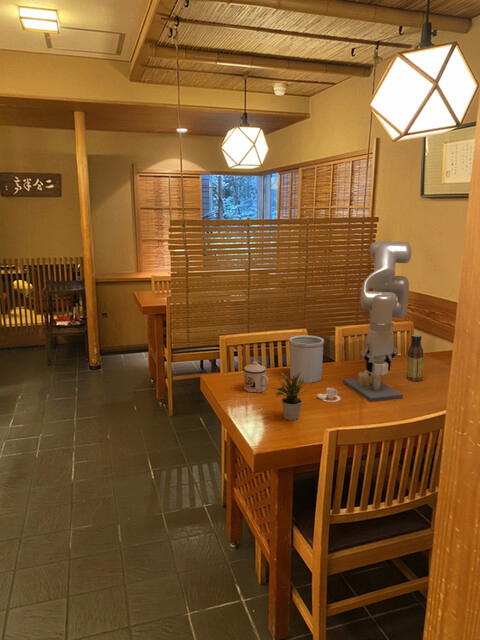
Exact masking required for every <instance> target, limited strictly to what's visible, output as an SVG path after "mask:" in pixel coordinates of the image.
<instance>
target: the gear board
mask: <svg viewBox="0 0 480 640" xmlns="http://www.w3.org/2000/svg"><path fill="white" fill-rule="evenodd" d="M381 380H382V379H381V375H375V374H372V373H369V371H367V370H366V369H365V370H364V371H363V372H362V371H359V373H357V377H354V378H345V379H343V378H342V383H343V384H344V385H345V386H347V387H348V388H349V389H351V390H353V391H354V392H355V393H357V394H359V395H360V396H361V397H362V398H364V399H365V400H367V401H368V402H370V403H372V402H382V401H390V400H399V399H400V400H402V399H403V396H404V395H403V393H401V392H399V391H397V390H396V389H395V388H392V387H391V386H389V385H387V384H385V383H384V382H382V381H381Z"/></svg>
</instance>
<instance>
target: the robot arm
mask: <svg viewBox="0 0 480 640" xmlns="http://www.w3.org/2000/svg"><path fill="white" fill-rule="evenodd" d="M369 254H370V257H371V260H372V263H373V272H372V273H369V275H368V276H366V278H365V279H364V281H363V282H362V285H361V287H360V288H361V291H360V301H359V302H360V307H361V308H362V309H363V310H367V311H369V329H368V332H367V334H366V338H365V339H366V340H365V346H364V348H363V349H362V350H361V351H360V352H359V354H360V355H361V357H362V358H363V359H364V360H365V363H366V364H365V370H367V371H369V372H372V366H373V363H372V362H371V361H373V360H378V361H379V360H382V361H384V362H387V364H388V372H389V371H391V366H392V361H393V359H394V358H395V357H396V355H397V354H398V352H399V349H398V348H396V346H395V345H394V334H393V330H392V327H394V326H395V325H394V324H395V323H393V319H394V318H395V319H401V318H402V319H403V318H404V317H406V316H407V313H408V305H409V293H410V292H409V291H410V283H409V278H408V277H407V276H404V275H396V264H408V263H409V262H410V261H411V257H412V247H411V244H410V243H409V242H408V241H392V240H391V241H390V240H389V241H386V240H385V241H384V240H381V241H380V240H379V241H378V240H377V241H373V242H371V243H370V245H369ZM371 288H373V290H372V291H370V289H371Z"/></svg>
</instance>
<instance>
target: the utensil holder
mask: <svg viewBox="0 0 480 640" xmlns="http://www.w3.org/2000/svg"><path fill="white" fill-rule="evenodd" d="M288 342H289V368H290V369H289V373H290V375H289V376H290V377H289V378H290V379H291V380H292V379H293V377H294V375H295V377H296V376H297V374H298V372H300V371H301V372H300V376H299V378H298V382H297V383H299V380H300V378H301V377H302V379H301V382H302V380H303V379H304V381H303V382H304V384H305V383H306V384H310V383H311V384H312V382H313V383H317V382H320V381H321V379H322V377H323V376H322V375H323V360H324V359H323V357H324V344H325V339H324V338H323V337H320V336H315V335H309V334H306V335H304V334H303V335H295V336H291V337H290V338H289V341H288ZM302 375H303V376H302ZM301 382H300V383H301Z"/></svg>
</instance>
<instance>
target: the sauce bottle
mask: <svg viewBox="0 0 480 640" xmlns="http://www.w3.org/2000/svg"><path fill="white" fill-rule="evenodd" d="M410 337H411V344H410V347H409V349H408V352H407V353H408V354H407V367H406V369H407V371H406V377H407V379H408V380H409V381H412V382H420V381H422V380H423V379H422V377H423V371H424V370H423V369H424V368H423V367H424V350H423V347H422V338H423V337H422V334H419V333H418V334H415V333H414V334H411V336H410Z"/></svg>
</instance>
